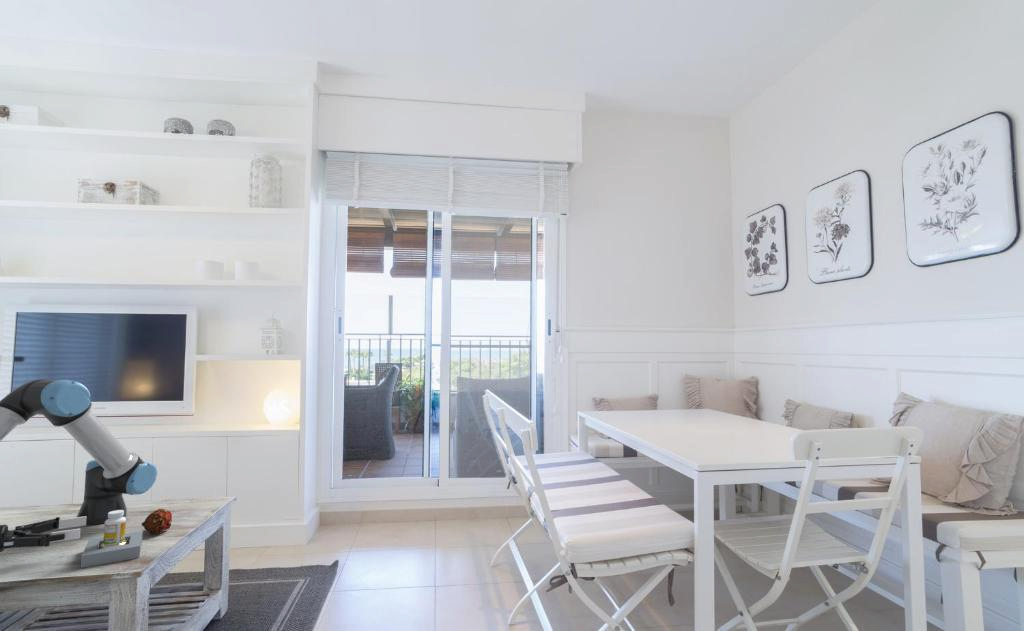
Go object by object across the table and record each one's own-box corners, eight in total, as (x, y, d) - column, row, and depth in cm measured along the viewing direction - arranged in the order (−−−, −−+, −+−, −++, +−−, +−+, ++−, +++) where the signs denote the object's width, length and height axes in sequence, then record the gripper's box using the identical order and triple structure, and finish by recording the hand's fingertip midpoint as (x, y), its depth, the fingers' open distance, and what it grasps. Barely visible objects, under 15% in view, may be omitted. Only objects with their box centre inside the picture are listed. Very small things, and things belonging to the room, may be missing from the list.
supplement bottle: (120, 538, 163) (122, 508, 164) (127, 542, 160) (129, 510, 161) (99, 544, 158) (102, 512, 159) (107, 547, 155) (109, 515, 156)
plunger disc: (101, 549, 160) (102, 541, 160) (126, 545, 163) (127, 537, 164) (99, 556, 155) (99, 548, 155) (125, 552, 158) (125, 544, 158)
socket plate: (88, 550, 162) (89, 539, 162) (141, 541, 169) (142, 530, 170) (80, 567, 148) (81, 555, 149) (139, 557, 156) (140, 546, 156)
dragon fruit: (157, 541, 174) (151, 537, 182) (181, 522, 179) (174, 519, 188) (141, 524, 171) (135, 521, 180) (165, 505, 177) (159, 502, 185)
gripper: (-3, 540, 153) (87, 527, 165) (-29, 569, 133) (76, 552, 145) (-1, 515, 154) (89, 504, 166) (-27, 540, 133) (78, 525, 145)
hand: (83, 526), depth 155 cm, fingers open, 13 cm apart
